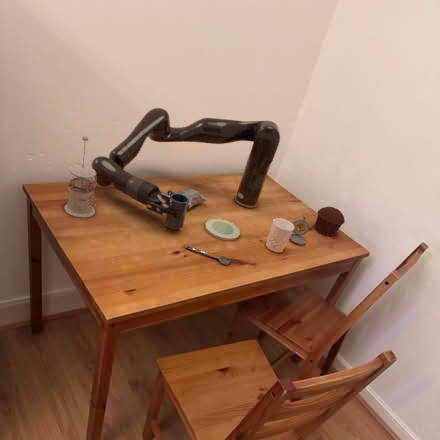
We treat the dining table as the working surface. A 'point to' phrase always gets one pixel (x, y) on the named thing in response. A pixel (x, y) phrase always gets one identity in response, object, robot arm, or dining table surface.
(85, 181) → the french press
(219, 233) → the side plate
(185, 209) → the tumbler
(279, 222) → the white cup
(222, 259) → the spoon
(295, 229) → the pocket watch
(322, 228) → the muffin
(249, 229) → the dining table surface
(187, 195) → the packaged food
